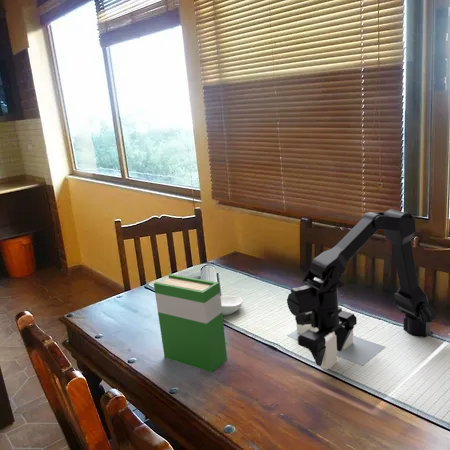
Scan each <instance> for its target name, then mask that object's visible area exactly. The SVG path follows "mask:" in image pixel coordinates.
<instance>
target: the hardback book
mask: <svg viewBox="0 0 450 450" xmlns="http://www.w3.org/2000/svg"><path fill="white" fill-rule="evenodd" d="M153 287H154V288H153V289H154V295H155V301H156V303H155V304H156V309H157V315H158V322H159V328H160V329H159V330H160V335H161V344H162V349H163V356H164V359H167V360H169V361H174V362H177V363H180V364H183V365H187V366H191V367H193V368H196V369H199V370H203V371H206V372H208V373H211V374H212V373H214V372H215V371H216V370H217V369H218V368H219V367H220V366H222V365H223V364H224V363H225V362H226V361H227V360H228V355H227V354H228V353H227V346H226V344H227V343H226V335H225V334H226V333H225V328H224V326H225V324H224V318H223V316H224V315H222V306H221V297H220V296H221V290H220V288H221V287H220V282H218V281H213V280H208V279H200V278H195V277H189V276H183V275H179V274H178V275H177V274H172V273H169V275H168V278H166V279H165V280H163V281H162V282H157V281H155V282H154V283H153Z"/></svg>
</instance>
